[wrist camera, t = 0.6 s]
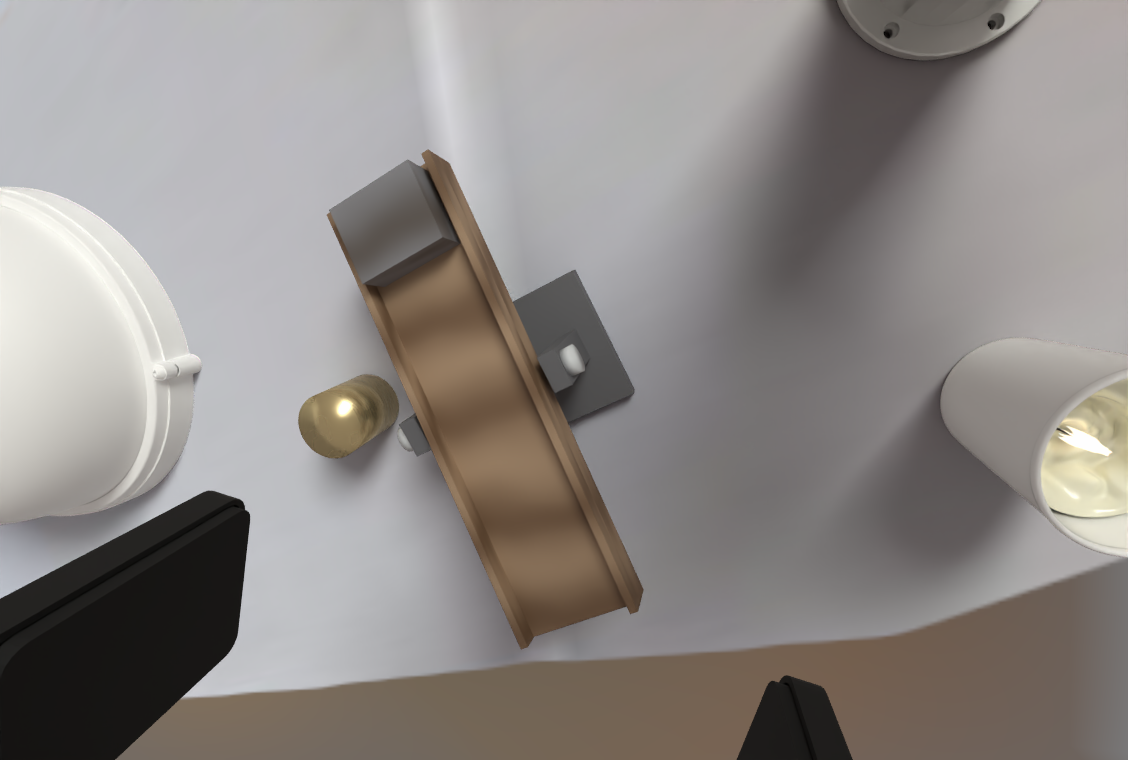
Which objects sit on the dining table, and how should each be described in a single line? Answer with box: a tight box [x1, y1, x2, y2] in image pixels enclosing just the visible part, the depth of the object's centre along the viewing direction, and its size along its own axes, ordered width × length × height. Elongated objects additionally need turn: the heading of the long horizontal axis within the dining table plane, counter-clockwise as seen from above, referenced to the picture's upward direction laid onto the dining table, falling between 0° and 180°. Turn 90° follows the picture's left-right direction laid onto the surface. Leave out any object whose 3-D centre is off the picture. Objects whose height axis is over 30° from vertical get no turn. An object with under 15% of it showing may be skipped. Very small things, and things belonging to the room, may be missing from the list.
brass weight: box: [298, 375, 399, 458], centre depth 43 cm, size 5×5×6 cm
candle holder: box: [940, 338, 1128, 558], centre depth 32 cm, size 10×10×12 cm
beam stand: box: [398, 270, 635, 456], centre depth 39 cm, size 10×15×9 cm, turn 117°
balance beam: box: [327, 150, 643, 649], centre depth 34 cm, size 30×8×4 cm, turn 27°
